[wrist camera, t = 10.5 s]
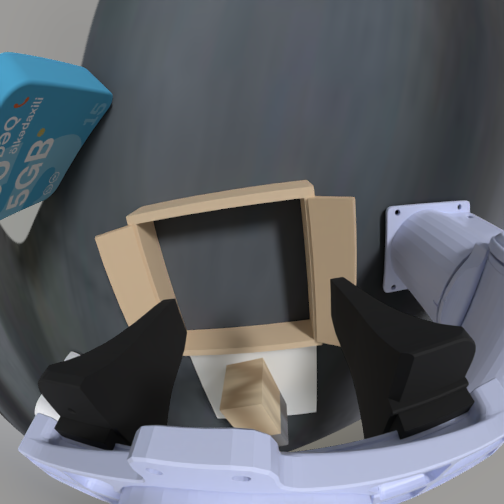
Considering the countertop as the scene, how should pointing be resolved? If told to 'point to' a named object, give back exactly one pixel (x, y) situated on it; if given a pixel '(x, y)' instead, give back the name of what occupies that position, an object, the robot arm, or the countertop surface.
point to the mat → (281, 368)
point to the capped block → (254, 400)
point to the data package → (42, 124)
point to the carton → (143, 230)
